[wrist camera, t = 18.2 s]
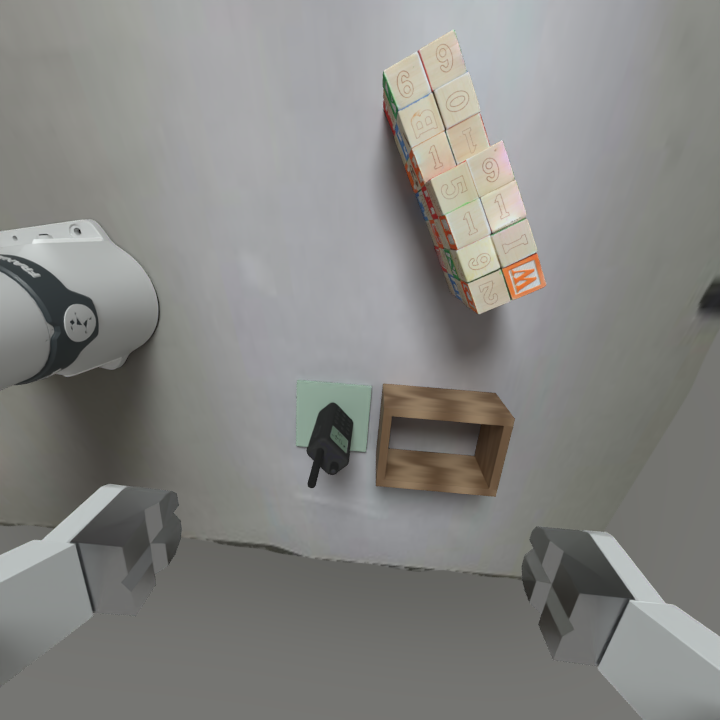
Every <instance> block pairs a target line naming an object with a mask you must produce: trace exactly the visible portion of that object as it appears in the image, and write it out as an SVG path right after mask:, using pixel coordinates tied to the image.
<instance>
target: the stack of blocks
mask: <svg viewBox="0 0 720 720" xmlns="http://www.w3.org/2000/svg"><path fill="white" fill-rule="evenodd" d="M383 88H384V93H383V98H384V102H383V108H384V111H385V114H386V116H387V119H388V121H389V124H390V127H391V129H392V132H393V135H394V137H395V138H394V140H395V142H396V145H397V148H398V150H399V153H400V156H401V158H402V161H403V164H404V166H405V169H406V172H407V175H408V178H409V180H410V183H411V186H412V188H413V191H414V193H415V194H416V197H417V200H418V203H419V205H420V208H421V211H422V214H423V216H424V219H425V221H426V224H427V227H428V229H429V232H430V235H431V237H432V240H433V243H434V247H435V250H436V253H437V256H438V258H439V261H440V264H441V267H442V269H443V273H444V275H445V278H446V281H447V284H448V287H449V289H450V292H451V294H453V295H454V296H455V297H457V298H458V299H460V300H461V301H462V302H463V303H464V304H465V305H466V306H467V307H469V308H470V309H472V310H473V311H475V312H476V313H477V314H481V313H484V312H486V311H489V310H491V309H493V308H496V307H498V306H501V305H503V304H506V303H508V302H510V301H511V300H514V299H517V298H520V297H522V296H525V295H527V294H529V293H532V292H534V291H536V290H539V289H541V288H543V287H545V286H546V281H545V278H544V274H543V271H542V268H541V264H540V261H539V258H538V255H537V253H536V252H537V247H536V244H535V241H534V238H533V234H532V231H531V228H530V225H529V222H528V220H527V218H526V214H527V213H526V210H525V206H524V204H523V200H522V197H521V194H520V191H519V188H518V185H517V182H516V181H515V180H514V174H513V170H512V167H511V164H510V161H509V158H508V155H507V152H506V149H505V145H504V142H503V140H502V141H500V142H498V143H496V144H494V145H492V146H490V143H489V140H488V137H487V134H486V130H485V127H484V124H483V120H482V117H481V114H480V107H479V103H478V100H477V97H476V93H475V90H474V87H473V83H472V80H471V77H470V74H469V72H467V70H466V66H465V62H464V59H463V56H462V52H461V49H460V46H459V43H458V39H457V36H456V33H455V30H452V31H450V32H448V33H447V34H445V35H443V36H442V37H440V38H438V39H437V40H435V41H433V42H431V43H429V44H428V45H426V46H424V47H422V48H421V49H419V51H418V52H416V53H414V54H412V55H410V56H408V57H407V58H405V59H403V60H401V61H400V62H398V63H396V64H394V65H393V66H391V67H389V68H388V69H386V70H384V72H383Z"/></svg>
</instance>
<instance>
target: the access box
mask: <svg viewBox="0 0 720 720" xmlns="http://www.w3.org/2000/svg"><path fill="white" fill-rule="evenodd" d="M392 416H395V417H407V418H419V419H430V420H442V421H454V422H465V423H477V424H481V428H480V432H479V437H478V442H477V446H476V451H475V456H468V455H457V454H446V453H434V452H423V451H411V450H400V449H388V446H389V437H390V428H391V419H392ZM514 421H515V418H514V417H513V416H512V414H511V413H510V412H509V410H508V409H507V408H506V406H505V405H504V404H503V402H502V401H501V400H500V398H499V397H498V396H497V394H496V393H489V392H477V391H465V390H453V389H441V388H429V387H417V386H406V385H394V384H383V390H382V399H381V409H380V419H379V429H378V439H377V448H376V486H383V487H394V488H405V489H416V490H427V491H438V492H450V493H461V494H472V495H483V496H494V497H496V493H497V489H498V485H499V481H500V477H501V473H502V469H503V465H504V461H505V457H506V453H507V449H508V445H509V441H510V437H511V433H512V429H513V425H514Z"/></svg>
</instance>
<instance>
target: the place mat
mask: <svg viewBox="0 0 720 720" xmlns="http://www.w3.org/2000/svg"><path fill="white" fill-rule="evenodd" d="M371 389H372V386H365V385H353V384H341V383H329V382H317V381H305V380H297V410H296V446H304V447H308V444H309V441H310V438H311V435H312V432H313V429H314V426H315V423H316V420H317V417H318V413H319V412H320V411H321V410H322V409H323V408H324V407H326V406H327V405H328V404H329V403H332V402H334V403H336V404H337V405H338V406H339V407H340V408H341V409H342V410H343V411H344V412H345V413H346V414H347V415H348V416H349V417H350V418H351V419H352V421H353V431H352V439H351V447H350V451H361V452H366V444H367V433H368V422H369V411H370V400H371Z"/></svg>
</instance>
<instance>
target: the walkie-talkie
mask: <svg viewBox="0 0 720 720" xmlns="http://www.w3.org/2000/svg"><path fill="white" fill-rule="evenodd" d="M352 431H353V421H352V419H351V418H350V417H349V416H348V415H347V414H346V413H345V412H344V411H343V410H342V409H341V408H340V407H339V406H338V405H337V404H336V403H334V402H332V403H329V404H328V405H327V406H326V407H324V408H323V409H322V410H321V411H320V412H319V413H318V417H317V420H316V423H315V426H314V429H313V432H312V435H311V438H310V441H309V444H308V447H307V454H308V455H309V456H310V457H311V458H312V459H313V460H314V462H313V466H312V469H311V473H310V477H309V480H308V487H310V488H314V487H315V485H316V481H317V477H318V473H319V469H320V467H321V468H322V469H323V470H324V471H325V472H326V473H328V474H330V475H334V474H336V473H337V472H338V471H340V470H341V469H343V468H344V467H345V466H347V464H348V462H349V455H350V447H351V439H352Z"/></svg>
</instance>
